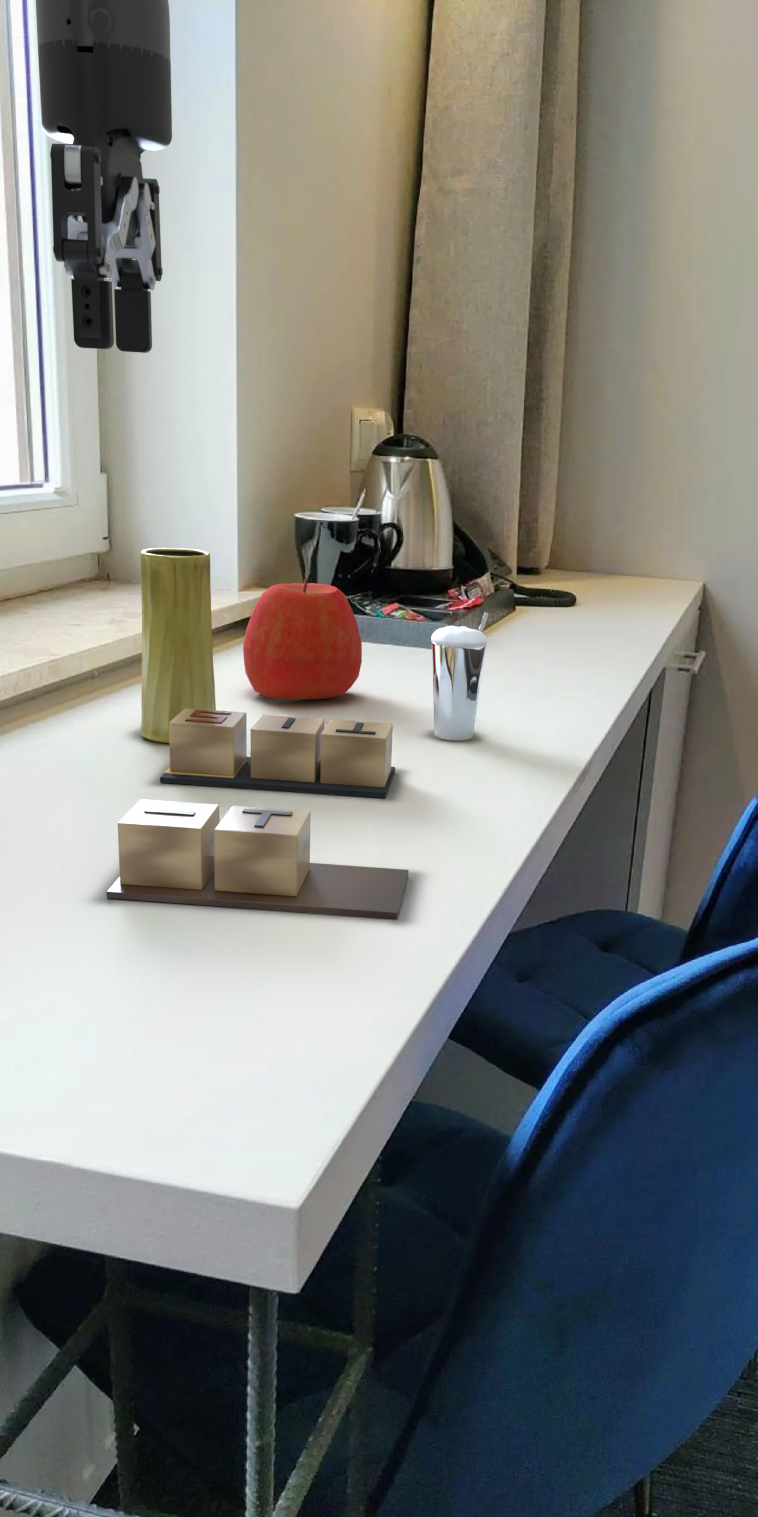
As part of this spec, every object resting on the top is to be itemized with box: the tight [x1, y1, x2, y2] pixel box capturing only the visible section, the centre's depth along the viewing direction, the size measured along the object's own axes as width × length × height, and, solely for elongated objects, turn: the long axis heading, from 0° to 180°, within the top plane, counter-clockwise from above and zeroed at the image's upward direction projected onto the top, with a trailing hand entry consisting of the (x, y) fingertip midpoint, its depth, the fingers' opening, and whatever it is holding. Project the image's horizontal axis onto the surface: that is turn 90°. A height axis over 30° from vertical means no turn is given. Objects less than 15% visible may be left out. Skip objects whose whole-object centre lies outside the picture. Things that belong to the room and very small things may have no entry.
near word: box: [106, 798, 410, 920], centre depth 75 cm, size 16×7×4 cm, turn 87°
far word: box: [159, 714, 396, 799], centre depth 96 cm, size 16×7×4 cm, turn 87°
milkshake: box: [430, 611, 490, 742], centre depth 110 cm, size 4×5×10 cm
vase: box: [139, 547, 217, 744], centre depth 104 cm, size 6×6×14 cm
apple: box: [242, 577, 363, 701], centre depth 120 cm, size 11×11×11 cm
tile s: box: [168, 708, 248, 776], centre depth 96 cm, size 5×5×4 cm
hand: (115, 350), depth 83 cm, fingers open, 8 cm apart
